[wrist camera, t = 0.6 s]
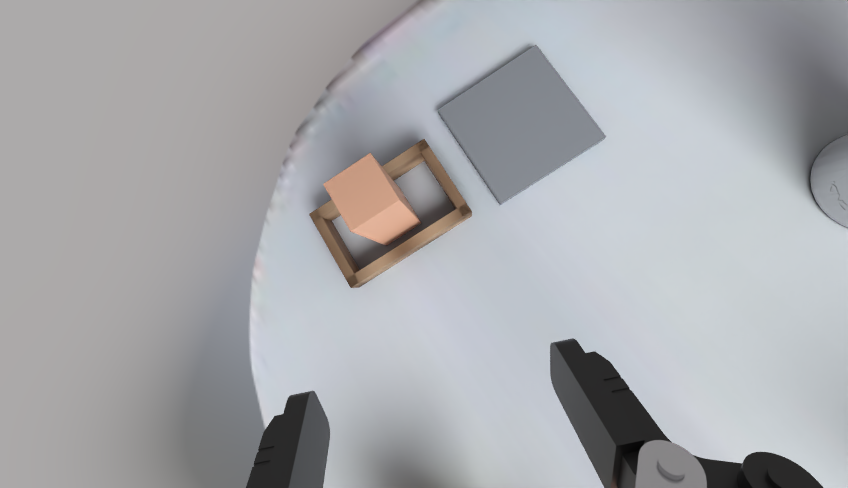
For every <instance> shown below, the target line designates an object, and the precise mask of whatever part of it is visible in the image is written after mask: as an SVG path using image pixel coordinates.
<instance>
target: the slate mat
mask: <svg viewBox="0 0 848 488" xmlns="http://www.w3.org/2000/svg"><path fill="white" fill-rule="evenodd" d="M438 113H439V115H440V116H441V118H442V119H443V121H444V122H445V124H446V125H447V127H448V128H449V130H450V131H451V133H452V134H453V136H454V137H455V139H456V140H457V142H458V143H459V145H460V146H461V148H462V149H463V150H464V152H465V153H466V155H467V156H468V158H469V159H470V161H471V162H472V164H473V165H474V167H475V168H476V170H477V171H478V173H479V174H480V176H481V177H482V179H483V180H484V182H485V183H486V185H487V186H488V188H489V189H490V191H491V192H492V194H493V195H494V197H495V198H496V200H497V201H498V202H499V204H500V205H501V204H503V203H504V202H506V201H507V200H509V199H510V198H512V197H514V196H515V195H517V194H518V193H520V192H522V191H523V190H525V189H526V188H528V187H529V186H531V185H533V184H534V183H536V182H537V181H539V180H541V179H542V178H544V177H545V176H547V175H548V174H550V173H552V172H553V171H555V170H556V169H558V168H560V167H561V166H563V165H564V164H566V163H567V162H569V161H571V160H572V159H574V158H575V157H577V156H579V155H580V154H582V153H583V152H585V151H587V150H588V149H590V148H591V147H593V146H594V145H596V144H598V143H599V142H601V141H602V140H604V139H605V137H606V136H605V135H604V133H603V132H602V131H601V129H600V128H599V127H598V125H597V124H596V123H595V121H594V120H593V119H592V118H591V116H590V115H589V114H588V112H587V111H586V110H585V108H584V107H583V106H582V104H581V103H580V102H579V100H578V99H577V98H576V96H575V95H574V94H573V93H572V91H571V90H570V89H569V87H568V86H567V85H566V83H565V82H564V81H563V79H562V78H561V77H560V75H559V74H558V73H557V71H556V70H555V69H554V68H553V66H552V65H551V64H550V62H549V61H548V60H547V58H546V57H545V56H544V54H543V53H542V52H541V50H540V49H539V48H538V47H537V45H535V46H533V47H532V48H530V49H529V50H527V51H526V52H524V53H523V54H521V55H520V56H518V57H517V58H515V59H514V60H512V61H511V62H509V63H508V64H506V65H505V66H503V67H502V68H500V69H499V70H497V71H496V72H494V73H493V74H491V75H490V76H488V77H486V78H485V79H483V80H482V81H480V82H479V83H477V84H476V85H474V86H473V87H471V88H470V89H468V90H467V91H465V92H464V93H462V94H461V95H459V96H458V97H456V98H455V99H453V100H452V101H450V102H449V103H447V104H446V105H444V106H443V107H441V108H440V109H438Z"/></svg>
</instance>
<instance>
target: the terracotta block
mask: <svg viewBox="0 0 848 488" xmlns="http://www.w3.org/2000/svg"><path fill="white" fill-rule="evenodd" d="M323 185H324V187H325V188H326V190H327V192H328V193H329V195H330V197H331V199H332V200H333V202H334V204H335V205H336V207H337V209H338V211H339V212H340V214H341V216H342V217H343V219H344V221H345V223H346V224H347V226H348V228H349V229H350V231H351V232H353V233H356V234H358V235H361V236H363V237H366V238H368V239H371V240H373V241H376V242H378V243H381V244H384V245H386V246H387V245H388V244H390V243H392V242H393V241H395V240H396V239H398V238H399V237H401V236H403V235H404V234H406V233H407V232H409V231H410V230H412V229H414V228H415V227H417V226H418V225H420V224H421V222H420V220H419V218H418V217H417V215H416V213H415V212H414V210H413V209H412V207H411V205H410V204H409V202H408V201H407V199H406V197H405V196H404V194H403V193H402V191H401V189H400V188H399V187H398V186H397V184H396V183H395V182H394V181H393V180H392V178H391V177H390V176H389V175H388V174H387V172H386V171H385V170H384V169H383V168H382V166H381V165H380V164H379V163H378V161H377V160H376V159H375V158H374V157H373V155H372V154H371V153H369V154H368V155H366V156H365V157H363V158H362V159H360V160H359V161H357V162H356V163H354V164H353V165H351V166H350V167H348V168H347V169H345V170H344V171H342V172H341V173H339V174H338V175H336V176H335V177H333V178H332V179H330V180H329V181H327V182H326V183H324V184H323Z"/></svg>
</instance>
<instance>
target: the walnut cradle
mask: <svg viewBox="0 0 848 488" xmlns="http://www.w3.org/2000/svg"><path fill="white" fill-rule="evenodd" d="M423 161H425V162H426V164H427V165H428V167H429V168H430V170H431V171H432V173H433V175H434V176H435V178H436V179H437V181H438V182H439V184H440V185H441V187H442V188H443V190H444V192H445V193H446V195H447V196H448V198H449V199H450V201H451V202H452V204H453V205H454V207H455V210H454V211H452V212H451V213H449V214H448V215H446V216H444V217H443V218H441V219H440V220H438V221H437V222H435V223H433V224H432V225H430V226H429V227H427V228H426V229H424V230H422V231H421V232H419V233H418V234H416V235H415V236H413V237H411V238H410V239H408V240H407V241H405V242H404V243H402V244H400V245H399V246H397V247H396V248H394V249H393V250H391V251H389V252H388V253H386V254H385V255H383V256H382V257H380V258H378V259H377V260H375V261H374V262H372V263H371V264H369V265H367V266H366V267H364V268H363V269H361V270H359V268H358V266H357V265H356V263H355V261H354V259H353V258H352V256H351V254H350V252H349V251H348V249H347V247H346V245H345V244H344V242H343V240H342V238H341V237H340V235H339V233H338V231H337V230H336V228H335V226H334V224H333V223H332V220H334V219H335V218H337V217H339V216H340V215H341V214H340V212H339V211H338V209H337V207H336V205H335V204H334V202H333V200H330V201H329V202H327V203H325V204H324V205H322V206H321V207H319V208H318V209H316V210H315V211H313V212H312V213H310V214H309V215H310V217H311V218H312V220H313V222H314V224H315V225H316V227H317V229H318V231H319V232H320V234H321V236H322V238H323V240H324V241H325V243H326V245H327V247H328V248H329V250H330V252H331V254H332V256H333V257H334V259H335V261H336V263H337V264H338V266H339V268H340V270H341V271H342V273H343V275H344V277H345V279H346V280H347V282H348V284H349V286H350V287H351V288H358V287H360V286H362V285H364V284H365V283H367V282H368V281H370V280H371V279H373V278H375V277H376V276H378V275H379V274H381V273H383V272H384V271H386V270H387V269H389V268H390V267H392V266H394V265H395V264H397V263H398V262H400V261H402V260H403V259H405V258H406V257H408V256H409V255H411V254H413V253H414V252H416V251H417V250H419V249H420V248H422V247H424V246H425V245H427V244H428V243H430V242H432V241H433V240H435V239H436V238H438V237H439V236H441V235H443V234H444V233H446V232H447V231H449V230H451V229H452V228H454V227H455V226H457V225H458V224H460V223H462V222H463V221H465V220H466V219H468V218H470V217H471V216H472V211H471V210H470V208H469V206H468V205H467V203H466V202H465V200H464V199H463V197H462V196H461V194H460V193H459V191H458V190H457V188H456V187H455V185H454V184H453V182H452V181H451V179H450V177H449V176H448V174H447V173H446V171H445V170H444V168H443V167H442V165H441V164H440V162H439V161H438V159H437V158H436V156H435V155H434V153H433V152H432V150H431V148H430V147H429V145H428V144H427V142H426V141H425V139H423V140H421V141H420V142H418V143H417V144H415V145H414V146H412V147H411V148H409V149H408V150H406V151H405V152H403V153H402V154H400V155H399V156H397V157H396V158H394V159H393V160H391V161H389V162H388V163H386V164H385V165H383V166H382V168H383V169H384V170H385V171H386V172H387V174H388V175H389V176H390V177H391V178H392V180H393V181H394V180H395V179H397V178H398V177H400V176H401V175H403V174H405V173H406V172H408V171H409V170H411V169H412V168H414V167H415V166H417V165H418V164H420V163H421V162H423Z"/></svg>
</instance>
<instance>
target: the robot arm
mask: <svg viewBox="0 0 848 488" xmlns="http://www.w3.org/2000/svg"><path fill="white" fill-rule="evenodd" d="M810 181H811V188H812V192H813V195H814V197H815V200H816V202H817V203H818V204H819V206H820V207H821V209H822V210H823V211H824V212H825V213H826V214H827V215H828V216H829V217H830V218H831V219H833V220H834V221H836V222H837V223H839V224H841V225H843V226H845V227H847V228H848V135H845V136H843V137H840V138H838V139H836V140H835V141H833V142H831V143H830V144H828V145H827V146H826V147H825V148H824V149H823V150H822V151H821V152H820V153H819V155H818V156H817V158H816V159H815V161H814V164H813V167H812V169H811V178H810ZM550 374H551V380H552V384H553V387H554V390H555V392H556V394H557V396H558V398H559V400H560V402H561V404H562V406H563V408H564V410H565V412H566V414H567V416H568V418H569V420H570V422H571V424H572V426H573V427H574V429H575V431H576V433H577V435H578V437H579V439H580V441H581V443H582V445H583V447H584V449H585V451H586V453H587V455H588V457H589V459H590V460H591V462H592V464H593V466H594V468H595V470H596V472H597V474H598V476H599V478H600V480H601V482H602V484H603V486H604V488H823V487H822V486H821V484H820V483H819V482H818V481H817V480H816V479H815V478H814V477H813V476H812V475H811V474H810V473H809V472H807V471H806V470H805V469H803V468H802V467H801V466H799V465H798V464H796V463H794V462H793V461H791V460H789V459H787V458H785V457H782V456H779V455H776V454H773V453H768V452H755V453H752V454H750V455H748V456H747V457H746V458H745V459H744V461H743V464H741V463H733V462H725V461H717V460H709V459H704V458H700V457H697V456H694V455H692V454H691V453H690V452H688V451H687V450H686V449H684V448H683V447H681V446H679V445H677V444H674V443H672V442H671V441H670V440H669V439H668V438H667V437H666V436H665V435H664V434H663V432H662V431H661V430H660V428H659V427H658V426H657V424H656V423H655V421H654V420H653V419H652V417H651V416H650V415H649V413H648V412H647V411H646V409H645V408H644V407H643V405H642V404H641V403H640V401H639V400H638V399H637V397H636V396H635V395H634V393H633V392H632V391H631V390H630V389H629V387H628V385H627V384H626V383H625V381H624V380H623V379H621V376H620V375H619V373H618V372H617V371H616V369H615V368H614V367H613V365H612V364H611V363H610V362H609V361H608V360H606V359H605V358H604V357H602V356H601V355H599V354H598V353H597V352H590V353H585V352H584V351H583V349H582V348H581V346H580V345H579V343H578V342H577V341H576V340H575V339H568V340H564V341H559V342H554V343H551V346H550ZM329 440H330V428H329V422H328V419H327V417H326V415H325V412H324V410H323V408H322V406H321V404H320V402H319V399H318V397H317V395H316V393H315V392H314V391H309V392H305V393H300V394H295V395H291V396H289V398H288V400H287V403H286V407H285V410H284V414H282V415H277V416H274V418H273V419H272V421H271V422H270V424H269V425H268V427H267V428H266V430H265V431H264V433H263V436H262V439H261V443H260V446H259V449H258V450H259V452H258V453H257V455H256V458H255V461H254V467H253V468H252V471H251V474H250V477H249V480H248V483H247V486H246V488H323V483H324V475H325V468H326V461H327V454H328V447H329Z"/></svg>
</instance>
